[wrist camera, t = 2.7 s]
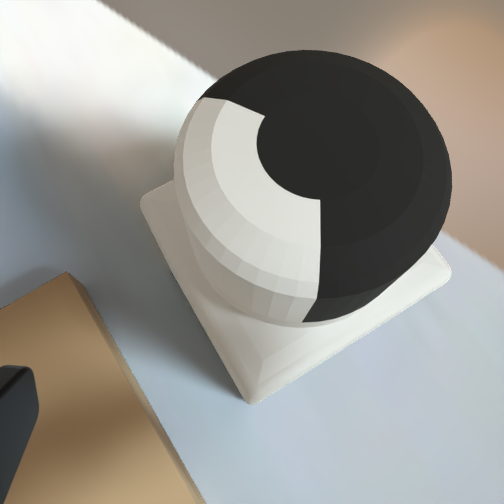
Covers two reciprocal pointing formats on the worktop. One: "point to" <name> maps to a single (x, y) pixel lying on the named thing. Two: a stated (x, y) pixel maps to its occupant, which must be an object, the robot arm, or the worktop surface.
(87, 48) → the worktop surface
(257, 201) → the medicine bottle
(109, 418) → the tan flat square slab
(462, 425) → the worktop surface
